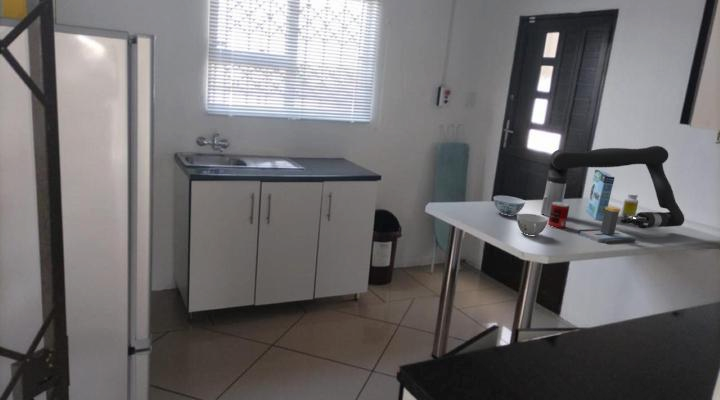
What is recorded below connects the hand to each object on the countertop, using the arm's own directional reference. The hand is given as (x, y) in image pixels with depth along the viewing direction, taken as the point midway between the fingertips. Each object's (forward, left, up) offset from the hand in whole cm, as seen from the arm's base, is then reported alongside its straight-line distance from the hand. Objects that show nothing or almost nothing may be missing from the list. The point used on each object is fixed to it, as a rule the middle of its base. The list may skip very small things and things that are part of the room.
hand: (622, 220), depth 234 cm
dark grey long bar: (-1, -11, -8) cm, 13 cm away
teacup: (-39, -25, -8) cm, 47 cm away
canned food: (-27, 0, -8) cm, 28 cm away
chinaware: (-50, +7, -8) cm, 51 cm away
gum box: (-6, +38, -8) cm, 39 cm away
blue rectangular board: (-6, -5, -8) cm, 11 cm away
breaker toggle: (-6, -5, -6) cm, 10 cm away
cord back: (-11, 0, -8) cm, 13 cm away
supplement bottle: (+11, +47, -8) cm, 48 cm away
